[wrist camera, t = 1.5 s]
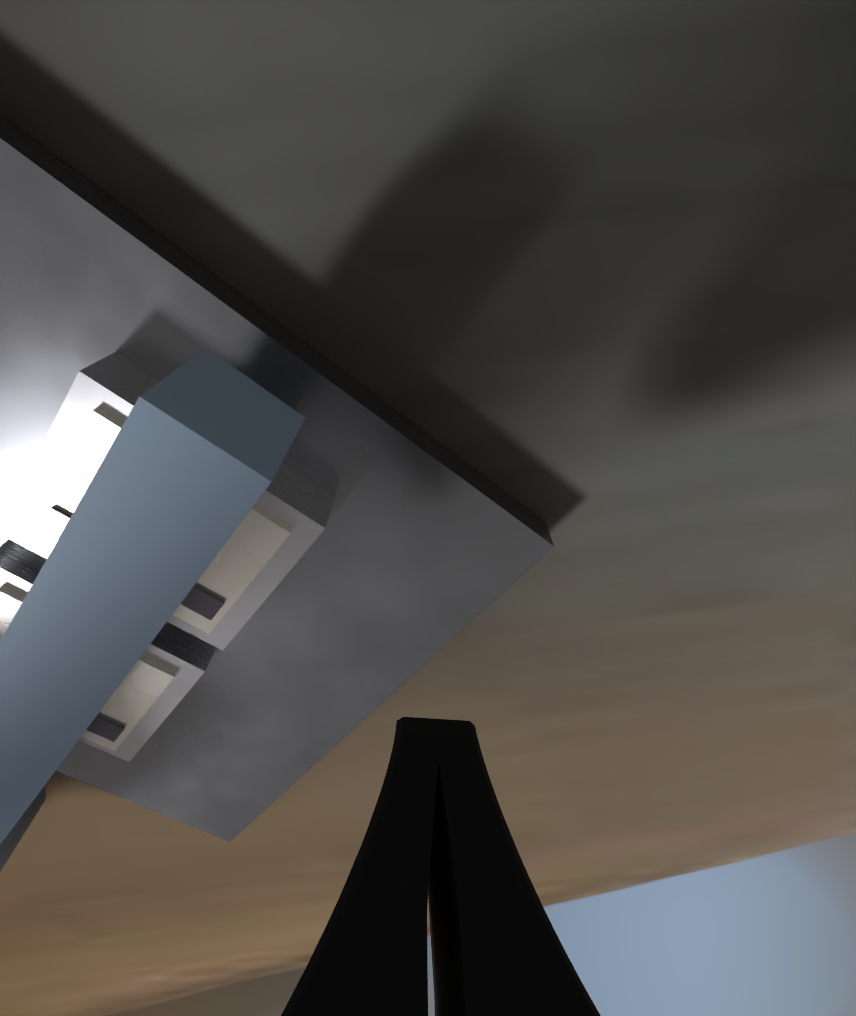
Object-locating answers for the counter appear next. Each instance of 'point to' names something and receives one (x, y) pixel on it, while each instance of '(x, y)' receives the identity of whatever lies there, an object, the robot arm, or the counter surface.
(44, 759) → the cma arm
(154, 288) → the chassis
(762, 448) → the counter surface
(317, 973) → the robot arm
